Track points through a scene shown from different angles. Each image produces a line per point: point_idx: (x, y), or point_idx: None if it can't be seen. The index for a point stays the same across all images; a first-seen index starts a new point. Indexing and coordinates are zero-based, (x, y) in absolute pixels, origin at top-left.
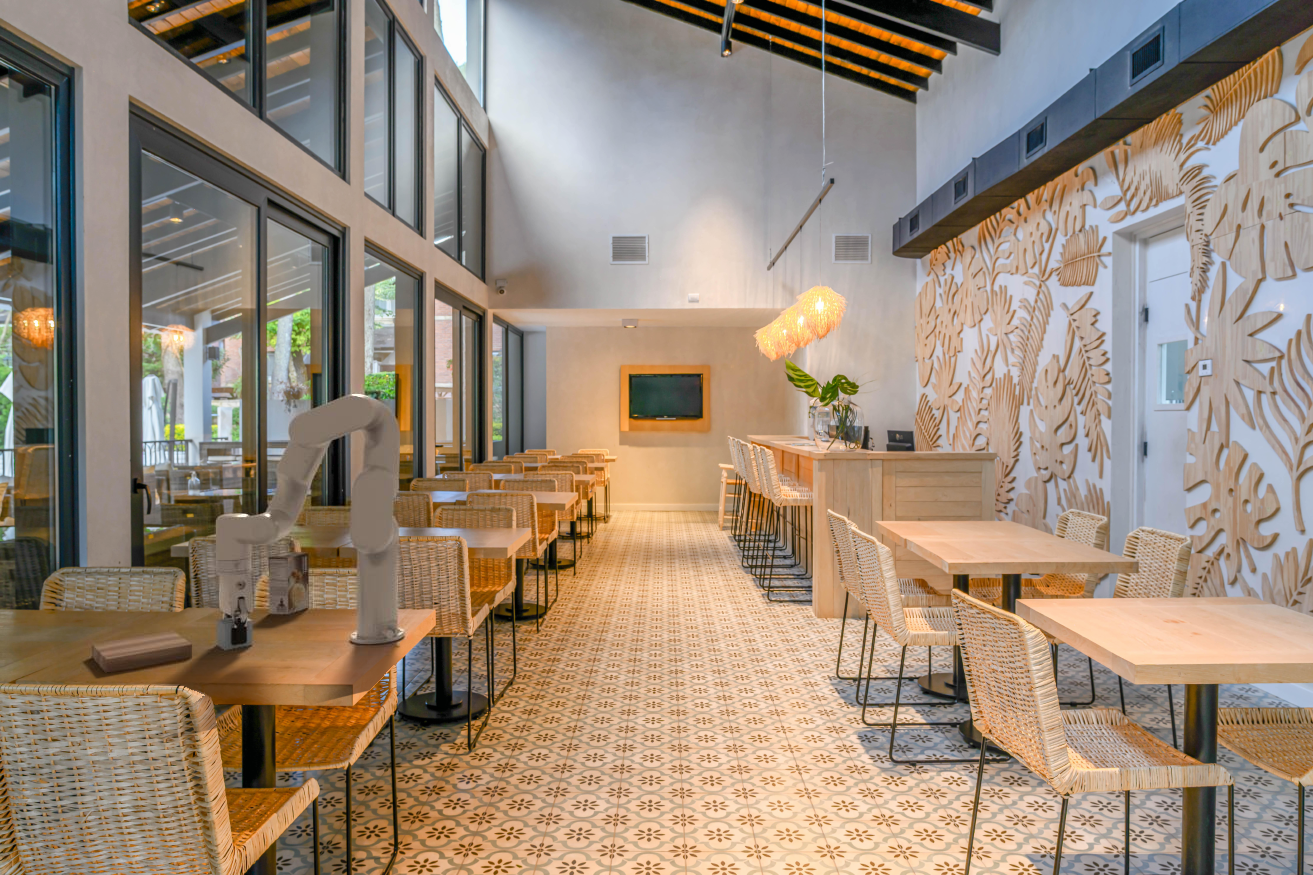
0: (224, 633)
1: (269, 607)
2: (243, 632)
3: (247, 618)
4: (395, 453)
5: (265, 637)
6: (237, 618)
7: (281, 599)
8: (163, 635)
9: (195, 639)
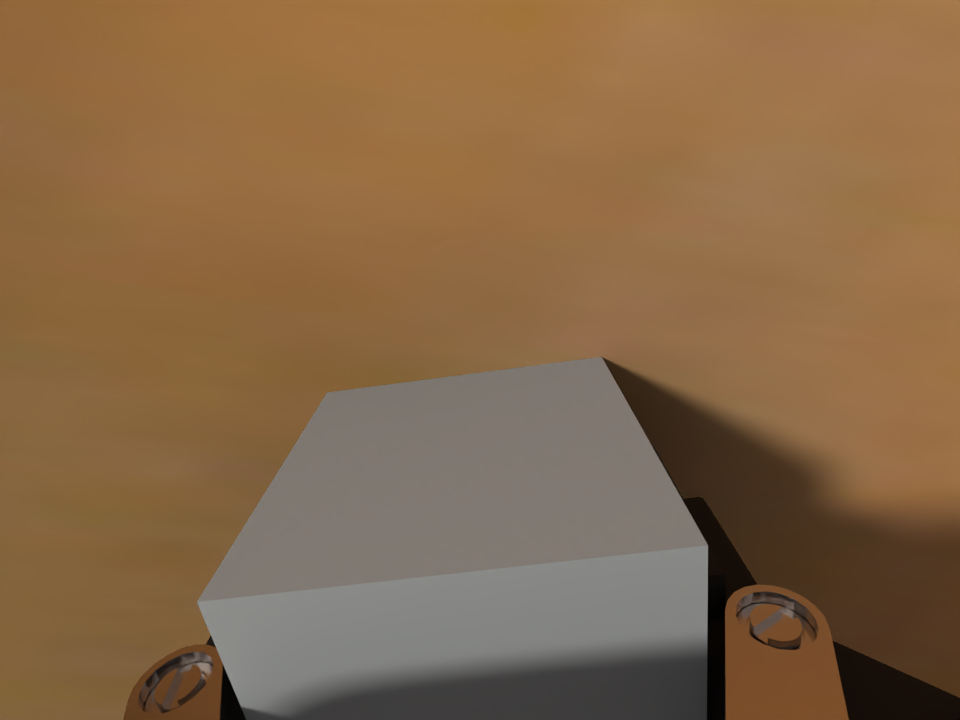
0: None
1: None
2: (739, 560)
3: (469, 585)
4: None
5: (318, 168)
6: (360, 702)
7: None
8: None
9: (76, 699)
